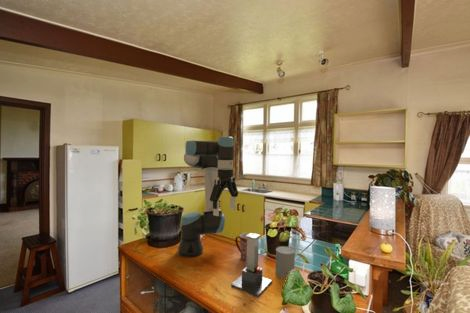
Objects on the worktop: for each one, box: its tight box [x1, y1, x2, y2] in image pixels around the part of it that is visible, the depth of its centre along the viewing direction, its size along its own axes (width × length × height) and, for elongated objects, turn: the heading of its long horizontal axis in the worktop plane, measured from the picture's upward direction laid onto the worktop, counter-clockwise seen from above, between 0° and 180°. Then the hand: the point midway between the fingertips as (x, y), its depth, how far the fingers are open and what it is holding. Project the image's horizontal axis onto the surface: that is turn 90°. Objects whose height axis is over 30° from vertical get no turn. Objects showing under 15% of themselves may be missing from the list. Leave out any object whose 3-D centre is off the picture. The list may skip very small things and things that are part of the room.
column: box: [245, 232, 261, 272], centre depth 108 cm, size 5×5×16 cm
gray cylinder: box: [274, 245, 296, 280], centre depth 119 cm, size 10×10×12 cm
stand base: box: [230, 266, 273, 298], centre depth 109 cm, size 14×14×8 cm
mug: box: [234, 232, 251, 262], centre depth 136 cm, size 13×9×14 cm
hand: (224, 212), depth 113 cm, fingers open, 13 cm apart
